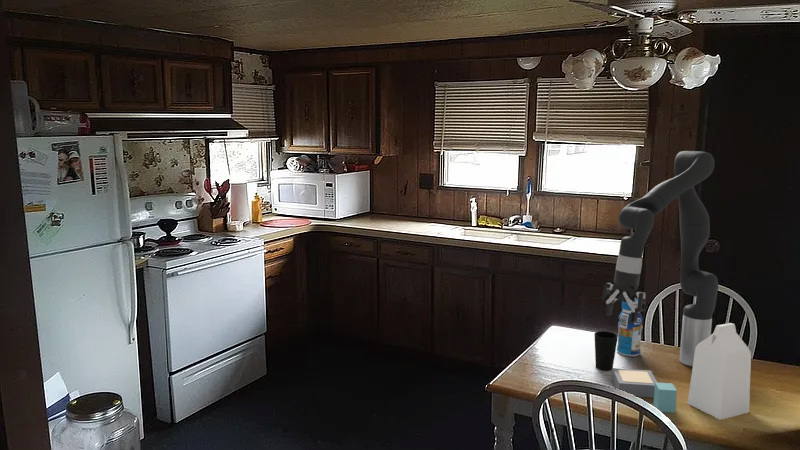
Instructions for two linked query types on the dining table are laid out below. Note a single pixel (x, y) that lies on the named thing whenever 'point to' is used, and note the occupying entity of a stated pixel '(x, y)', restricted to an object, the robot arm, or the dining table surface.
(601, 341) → the cup
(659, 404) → the teal block
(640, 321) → the beverage bottle
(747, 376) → the milk
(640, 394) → the plinth
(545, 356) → the dining table surface
